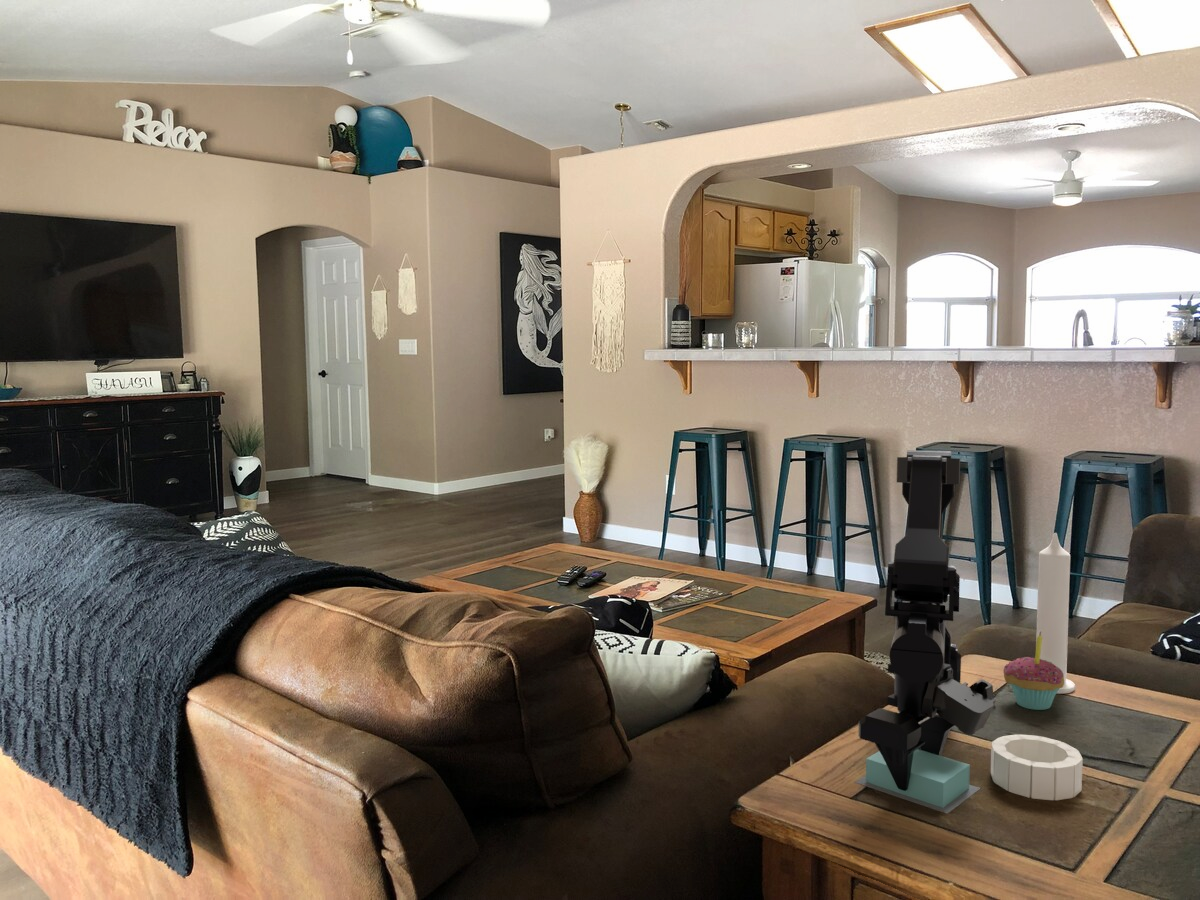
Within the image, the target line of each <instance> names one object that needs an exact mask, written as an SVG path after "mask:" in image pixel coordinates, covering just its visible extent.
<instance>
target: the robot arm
mask: <svg viewBox="0 0 1200 900" xmlns="http://www.w3.org/2000/svg"><path fill="white" fill-rule="evenodd" d="M960 474H961V458H956V457H955V458H954V457H952V450H918V449H917V450H915V449H914V450H911V449H910V450H909V449H908V450H906V456H905V457H904V456H902V457H901V456H900V457H899V456H897V457H896V483H900V484H901V492H902V493H901V494H902V497H903V499H904V500H905V502H906V503H907V505H908V507H907V519H906V533H905V536H903V537H902V538H901V539H900V540H899V541H897V543H895V546H894V547H895V548H894V555H893V561H888V563H887V574H886V575H887V576H886V589H885V590H886V592H885V606H884V609H885V610H884V615H885V617H886V616H887V617H895V622H894V623H895V629H894V630H895V631H894V634H893V637H892V642H891V646H890V650H889V661H890V663H888V664H887V672H888V673H891V674H893V675H894V683H893V684H894V690H893V691H894V693H892V694H889V695H888V696H887V698H886V699H887V704H886V705H887V706H892V707H895V708H897V712H896V711H893V710H888V709H885V708H881V707H879V708H877V709H875V710H873V711H871V712H870V713H868V714H866V715H864V716H863V717H862V718H861V719H859V720H858V734H857V735H858V737H859V739H860V740H864V741H867V742H871V743H874V745H875V746H876V748H877V749H878V751H880V753H881V755H882V756H883V758H884V760H885V762H886V764H887V766H888V769H889V771H890V773H891V775H892V777H893V779H894V781H895V783H896V785H897V787H898V789H900V790H903V791H906V790H907V789H908V785H909V780H910V774H911V767H912V760H913V753H914V751H915V750H917V749H920V750H922V751H926V752H929V753H932V754H936V755H939V756H942V754H943V752H944V751H943V750H944V747H945V745H946V742H947V738H948V736H949V733H950V731H951V729H952V728H954V727H956V728H957V729H958V731H959V732H961V733H963V734H965V735H968V736H972V735H975V734H976V732H978V731H980V730H981V729H984V728H985V726H986V724H987V722H988V720H989V717H990V715H991V713H993V712H994V711H996V710H997V707H996V705H995V704H996V701H997V700H996V699H995V697H994V696H995V695H994V686H993V684H992V683H989V681H987V680H985V679H983V678H980V680H978V681H976V682H974V683H973V684H971V685H970V686H969V683H967V682H963V683H961V672H962V671H961V669H962V654H961V653H960V652H959V651H958V648H957V643H952V628H951V627H950V625H949V624H948V621H950V622H953V621H954V613H955V612H956V613H959V612H960V584H961V583H960V580H961V579H960V575H959V574H958V573H957V568H956V567H955V565H949V564H950V563H949V562H950V561H949V559H950V558H949V556H950V553H949V551H950V548H949V546H948V545H947V544H946V543H945V541H944V540H943V513H945V511H946V509H947V508H948V506H949V505H950V503H951V501H952V500H953V498H954V495H955V485H960V482H961V477H960ZM893 598H895V600H897V601H894V602H893V605H892V601H893ZM948 598H949V599H948ZM947 602H948V609H946V605H944V603H947Z"/></svg>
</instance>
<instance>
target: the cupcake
mask: <svg viewBox="0 0 1200 900" xmlns="http://www.w3.org/2000/svg"><path fill="white" fill-rule="evenodd" d="M1036 636H1037V635H1036ZM1041 643H1042V636H1041V631H1040V634H1039V636H1037V644H1036V643H1035V655H1034V657H1032V656H1022V657H1019V658H1015V659H1013V660H1012V661H1009V662H1008V663H1007V664H1005V666H1004V667H1003V678H1004V681H1005V682H1006V683H1007V684H1010V686H1011V688H1012V692H1013V695H1014V698H1015V702H1016V704H1017V705H1018V706H1020V707H1023V708H1025V709H1028V710H1029V709H1030V710H1035V711H1037V710H1038V711H1043V710H1049V709H1051V707H1052V705H1053V702H1054V699H1055V697H1056V693H1057V692H1058V690H1059V689H1060V688H1062V687H1063V685H1064V675H1063V673H1062V670H1060V669H1059V668H1058V667H1057V666H1055V665H1054V664H1052V663H1051V662H1048V661H1046V660H1041V659H1040V652H1041Z"/></svg>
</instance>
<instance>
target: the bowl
mask: <svg viewBox="0 0 1200 900" xmlns="http://www.w3.org/2000/svg"><path fill="white" fill-rule="evenodd" d="M990 748H991V749H990V750H991V751H990V776H991V778H992V781H993V783H994V784H996V785H997V786H999V787H1001V788H1002V789H1004V790H1005V791H1008V793H1009V792H1010V793H1012V794H1016V795H1018V796H1022V797H1025V798H1029V799H1030V798H1031V799H1034V800H1035V799H1037V800H1046V801H1060V800H1067V799H1072V798H1076V796H1077V795H1078V794H1080V793H1081V792H1082V788H1083V785H1082V784H1083V764H1084V763H1083V759H1084V758H1083V757H1082V755H1081V753H1080V751H1079V750H1078V749H1077V748H1074V747H1073V746H1071V745H1069V743H1066V742H1063V741H1061V740H1056V739H1053V738H1049V737H1046V736H1040V735H1031V734H1016V733H1015V734H1010V735H1009V734H1008V735H1003V736H999V737H997V738H996V739H995V740H992V741H991V746H990Z"/></svg>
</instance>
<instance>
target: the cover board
mask: <svg viewBox="0 0 1200 900" xmlns="http://www.w3.org/2000/svg"><path fill="white" fill-rule="evenodd" d="M970 765H971V764H969V763H965V762H962V761H960V760H959V761H958V760H957V759H956V760H955V759H952V758H948V757H945V756H943V755H941V756H939V755H936V754H932V753H929V752H926V751H922V750H921V749H920V748H918V749H917V750H915V751H914V753H913V760H912V767H911V774H910V780H909V785H908V789H907V790H906V791H903V790H900V789H898V787H897V785H896V783H895V781H894V779H893V777H892V775H891V773H890V771H889V769H888V766H887V764H886V762H885V760H884V758H883V756H882V755H881V753H880V751H879V750H878V751H877V752H875V753H873V754H872V755H870V756H868V757H867V758H866V759H865V775H866V782H868V783H871V784H874V785H877V786H880V787H883V788H886V789H889V790H892V791H895V792H898V793H901V794H904V795H907V796H910V797H913V798H916V799H919V800H921V801H924V802H927V803H930V804H933V805H936V806H939V807H942V808H943V807H945V806H946V805H947V804H949V803H950V802H951V801H953V800H954V799H955V798H957V797H958V796H959V795H961V794H962V793H964V792H965V791H966V790H968V789H969V785H970V775H971V774H970V772H971V771H970V770H971V767H970Z"/></svg>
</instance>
